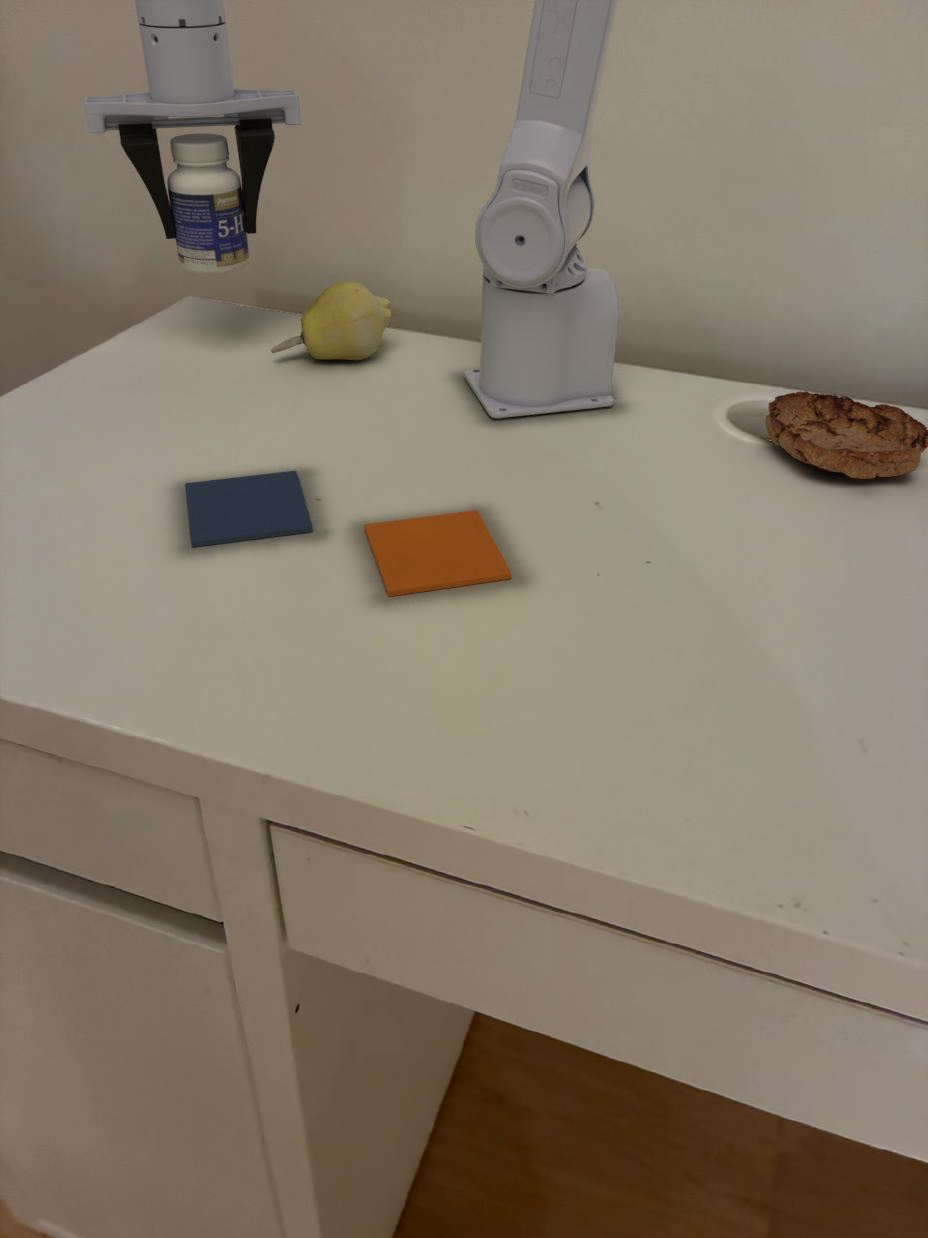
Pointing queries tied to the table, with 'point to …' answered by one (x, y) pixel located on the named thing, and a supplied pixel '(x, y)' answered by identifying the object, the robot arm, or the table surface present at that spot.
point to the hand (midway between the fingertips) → (211, 232)
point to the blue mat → (246, 508)
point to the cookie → (846, 434)
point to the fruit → (342, 323)
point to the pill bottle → (207, 206)
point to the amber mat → (435, 553)
